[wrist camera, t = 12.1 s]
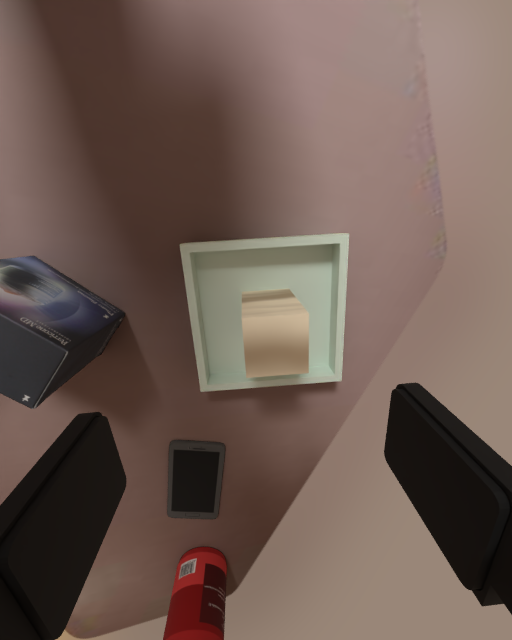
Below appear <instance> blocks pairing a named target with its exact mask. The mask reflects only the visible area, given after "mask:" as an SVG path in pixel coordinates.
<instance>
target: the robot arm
mask: <svg viewBox="0 0 512 640" xmlns="http://www.w3.org/2000/svg"><path fill="white" fill-rule="evenodd" d="M384 454H385V458H386V461H387V463H388V465H389V467H390V468H391V470H392V472H393V473H394V475H395V476H396V478H397V480H398V481H399V483H400V484H401V486H402V488H403V489H404V491H405V493H406V494H407V496H408V497H409V499H410V501H411V502H412V504H413V506H414V507H415V509H416V510H417V512H418V514H419V515H420V517H421V518H422V520H423V522H424V523H425V525H426V527H427V528H428V530H429V531H430V533H431V535H432V536H433V538H434V539H435V541H436V543H437V544H438V546H439V548H440V549H441V551H442V553H443V554H444V556H445V557H446V559H447V560H448V562H449V564H450V565H451V567H452V568H453V570H454V572H455V573H456V575H457V577H458V578H459V580H460V581H461V583H462V584H463V585H464V586H465V588H467V589H468V590H472V591H473V593H474V594H475V596H476V598H477V599H478V601H479V602H480V604H481V605H482V606H489V605H497V604H505V606H506V607H507V609H508V610H509V611H510V613H511V614H512V466H511V465H510V464H508V463H507V462H506V461H505V460H504V459H503V458H501V456H500V455H498V454H497V453H496V452H495V451H494V450H493V449H492V448H491V447H490V446H488V445H487V444H486V443H485V442H484V441H483V440H482V439H481V438H479V437H478V436H477V435H476V434H475V433H474V432H473V431H472V430H470V429H469V428H468V427H467V426H466V425H465V424H464V423H463V422H461V421H460V420H459V419H458V418H457V417H456V416H455V415H454V414H452V413H451V412H450V411H449V410H448V409H447V408H446V407H445V406H444V405H442V404H441V403H440V402H439V401H438V400H437V399H436V398H435V397H433V396H432V395H431V394H430V393H429V392H428V391H427V390H426V389H424V388H423V387H422V386H421V385H420V384H418V383H406V384H399V385H397V387H396V389H394V390H393V391H392V393H391V401H390V409H389V418H388V425H387V433H386V441H385V450H384ZM125 487H126V475H125V472H124V469H123V466H122V463H121V460H120V456H119V453H118V450H117V447H116V444H115V441H114V438H113V434H112V431H111V428H110V425H109V422H108V419H107V417H105V416H102V414H101V413H100V412H93V413H83V414H78V415H77V416H76V417H75V418H74V419H73V420H72V422H71V423H70V424H69V425H68V426H67V427H66V429H65V430H64V431H63V432H62V433H61V435H60V436H59V437H58V438H57V439H56V440H55V442H54V443H53V444H52V445H51V446H50V448H49V449H48V450H47V451H46V452H45V453H44V455H43V456H42V457H41V458H40V459H39V460H38V462H37V463H36V464H35V465H34V466H33V468H32V469H31V470H30V471H29V472H28V473H27V475H26V476H25V477H24V478H23V479H22V481H21V482H20V483H19V484H18V485H17V486H16V488H15V489H14V490H13V491H12V492H11V494H10V495H9V496H8V497H7V498H6V499H5V501H4V502H3V503H2V504H1V505H0V640H55V639H58V637H60V636H61V634H62V633H63V631H64V629H65V627H66V625H67V623H68V621H69V618H70V616H71V614H72V611H73V609H74V607H75V604H76V602H77V600H78V597H79V595H80V593H81V590H82V588H83V586H84V584H85V581H86V579H87V577H88V574H89V572H90V570H91V567H92V565H93V563H94V560H95V558H96V556H97V553H98V551H99V549H100V546H101V544H102V542H103V539H104V537H105V535H106V532H107V530H108V528H109V525H110V523H111V521H112V518H113V516H114V514H115V511H116V509H117V507H118V505H119V502H120V500H121V498H122V495H123V493H124V490H125Z"/></svg>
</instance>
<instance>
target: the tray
mask: <svg viewBox="0 0 512 640" xmlns="http://www.w3.org/2000/svg"><path fill="white" fill-rule="evenodd" d="M179 245H180V252H181V259H182V266H183V273H184V279H185V286H186V293H187V300H188V307H189V314H190V321H191V328H192V335H193V342H194V349H195V356H196V363H197V370H198V377H199V384H200V391H201V392H206V391H219V390H232V389H245V388H258V387H271V386H284V385H297V384H309V383H322V382H335V381H342V364H343V344H344V325H345V306H346V286H347V267H348V247H349V234H345V233H335V234H318V235H302V236H286V237H270V238H254V239H237V240H221V241H205V242H189V243H182V244H179ZM288 288H289V289H290V290H291V292H292V293H293V294H294V295H295V297H296V298H297V299H298V300H299V302H300V303H301V304H302V305H303V307H304V308H305V309H306V310H307V312H308V313H309V373H304V374H291V375H278V376H265V377H252V378H246V368H245V355H244V343H243V330H242V292H244V291H259V290H274V289H288Z"/></svg>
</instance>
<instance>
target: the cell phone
mask: <svg viewBox="0 0 512 640" xmlns="http://www.w3.org/2000/svg"><path fill="white" fill-rule="evenodd" d="M224 458H225V445H224V444H223V443H219V442H205V441H189V440H173V441H171V442H170V446H169V468H168V505H167V514H168V516H169V517H171V518H187V519H216V518H217V516H218V512H219V503H220V494H221V485H222V476H223V467H224Z"/></svg>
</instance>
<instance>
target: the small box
mask: <svg viewBox="0 0 512 640" xmlns="http://www.w3.org/2000/svg"><path fill="white" fill-rule="evenodd" d="M124 316H125V313H124V312H123V311H121V310H120V309H118V308H116V307H115V306H113V305H112V304H110V303H108V302H107V301H105V300H104V299H102V298H100V297H99V296H97V295H96V294H94V293H92V292H91V291H89V290H88V289H86V288H84V287H83V286H81V285H80V284H78V283H76V282H75V281H73V280H72V279H70V278H68V277H67V276H65V275H64V274H62V273H60V272H59V271H57V270H56V269H54V268H53V267H51V266H49V265H48V264H46V263H45V262H43V261H41V260H40V259H38V258H37V257H35V256H28V257H19V258H10V259H0V393H1V394H3V395H5V396H7V397H9V398H11V399H13V400H15V401H17V402H19V403H21V404H23V405H25V406H27V407H29V408H31V409H34V408H36V407H38V406H39V405H40V404H41V403H42V402H43V401H44V400H45V399H46V398H47V397H48V396H50V395H51V394H52V393H53V392H54V391H56V390H57V389H58V388H59V387H60V386H62V385H63V384H64V383H65V382H67V381H68V380H69V379H70V378H71V377H73V376H74V375H75V374H76V373H78V372H79V371H80V370H81V369H82V368H84V367H85V366H86V365H87V364H88V363H90V362H91V361H92V360H93V359H94V358H96V357H97V356H99V355H101V354H102V352H103V351H104V348H105V346H106V345H107V343H108V341H109V340H110V339H111V336H112V335H113V334H114V332H115V330H116V329H117V328H118V327H119V325H120V323H121V321H122V319H123V317H124Z"/></svg>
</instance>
